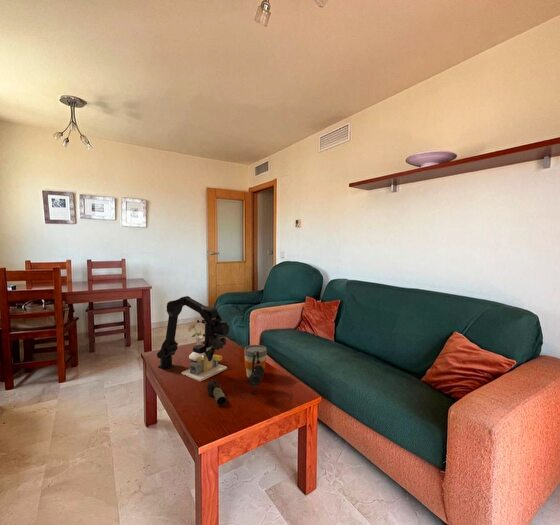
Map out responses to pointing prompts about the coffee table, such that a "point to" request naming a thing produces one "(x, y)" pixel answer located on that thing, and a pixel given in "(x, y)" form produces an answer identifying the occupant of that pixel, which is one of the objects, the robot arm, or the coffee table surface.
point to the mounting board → (205, 373)
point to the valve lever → (214, 357)
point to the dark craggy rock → (216, 392)
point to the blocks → (202, 365)
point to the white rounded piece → (198, 338)
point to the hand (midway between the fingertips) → (209, 361)
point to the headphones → (255, 372)
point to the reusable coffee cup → (249, 357)
